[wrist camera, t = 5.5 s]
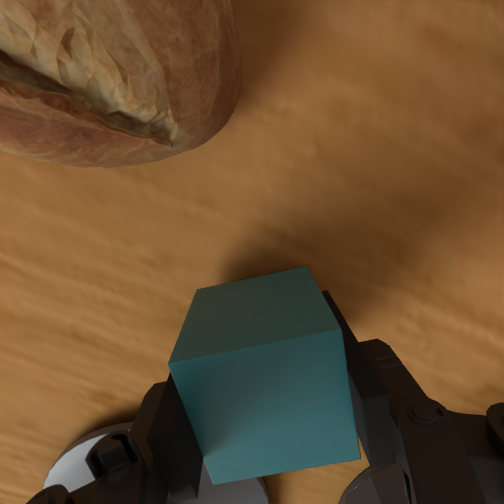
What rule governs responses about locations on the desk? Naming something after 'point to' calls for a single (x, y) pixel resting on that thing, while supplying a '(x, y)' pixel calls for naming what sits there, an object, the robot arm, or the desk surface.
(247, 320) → the block
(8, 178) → the desk surface
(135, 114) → the bread roll
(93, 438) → the lid
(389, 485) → the pot
